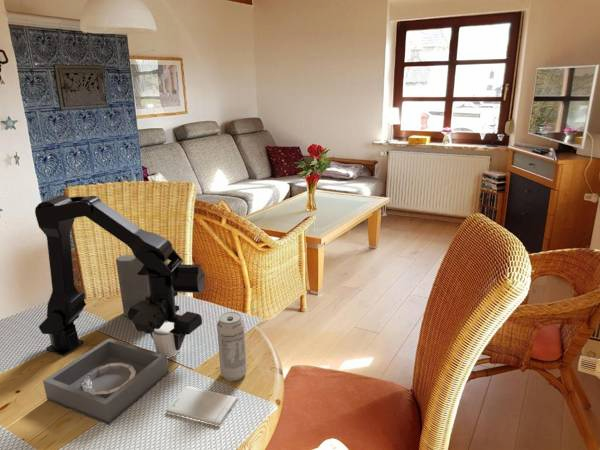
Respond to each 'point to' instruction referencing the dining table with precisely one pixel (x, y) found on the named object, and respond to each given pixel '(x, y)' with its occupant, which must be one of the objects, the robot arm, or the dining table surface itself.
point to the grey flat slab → (202, 405)
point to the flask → (131, 281)
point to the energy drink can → (231, 346)
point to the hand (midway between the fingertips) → (167, 346)
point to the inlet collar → (103, 370)
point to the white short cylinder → (165, 340)
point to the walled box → (106, 380)
